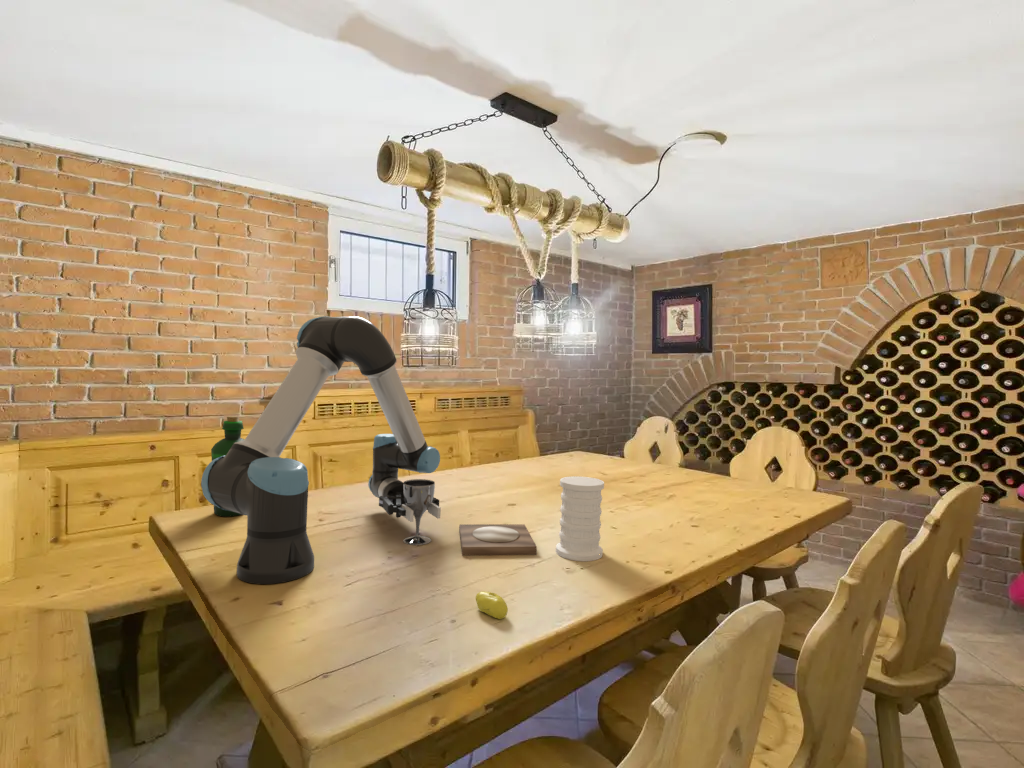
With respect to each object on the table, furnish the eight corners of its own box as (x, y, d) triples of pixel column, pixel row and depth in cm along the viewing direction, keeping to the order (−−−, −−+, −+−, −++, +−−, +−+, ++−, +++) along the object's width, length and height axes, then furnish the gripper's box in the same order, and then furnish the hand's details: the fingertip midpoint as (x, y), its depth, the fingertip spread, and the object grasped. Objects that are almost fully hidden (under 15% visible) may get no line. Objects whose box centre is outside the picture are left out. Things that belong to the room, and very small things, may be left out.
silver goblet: (405, 534, 141) (407, 478, 141) (435, 536, 141) (437, 479, 141) (398, 544, 133) (400, 485, 133) (429, 546, 133) (431, 486, 133)
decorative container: (599, 564, 126) (602, 488, 125) (551, 557, 129) (554, 483, 128) (605, 548, 137) (608, 478, 136) (560, 542, 140) (563, 474, 139)
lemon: (494, 625, 94) (495, 603, 94) (469, 608, 101) (470, 587, 100) (513, 619, 97) (514, 598, 97) (488, 603, 103) (488, 583, 103)
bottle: (239, 519, 149) (241, 419, 148) (201, 517, 149) (203, 417, 148) (258, 509, 160) (260, 415, 159) (223, 507, 160) (225, 414, 159)
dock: (536, 554, 130) (536, 544, 130) (462, 555, 128) (462, 545, 128) (524, 531, 148) (524, 522, 148) (459, 531, 146) (459, 523, 146)
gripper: (426, 503, 157) (460, 524, 138) (360, 510, 147) (386, 534, 128) (427, 478, 157) (461, 496, 137) (361, 483, 147) (387, 503, 127)
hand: (425, 514), depth 133 cm, fingers closed on silver goblet, 6 cm apart
